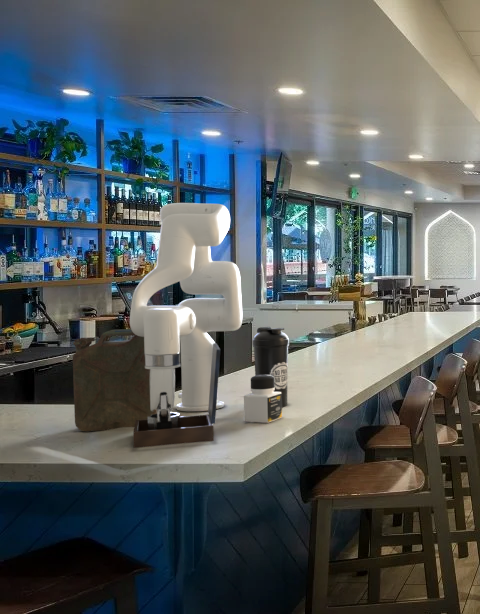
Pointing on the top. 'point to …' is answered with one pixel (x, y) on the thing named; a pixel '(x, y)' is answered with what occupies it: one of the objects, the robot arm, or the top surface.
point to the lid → (214, 383)
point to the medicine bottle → (262, 400)
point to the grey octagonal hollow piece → (154, 420)
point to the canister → (110, 382)
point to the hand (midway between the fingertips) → (164, 435)
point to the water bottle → (272, 357)
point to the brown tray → (174, 432)
